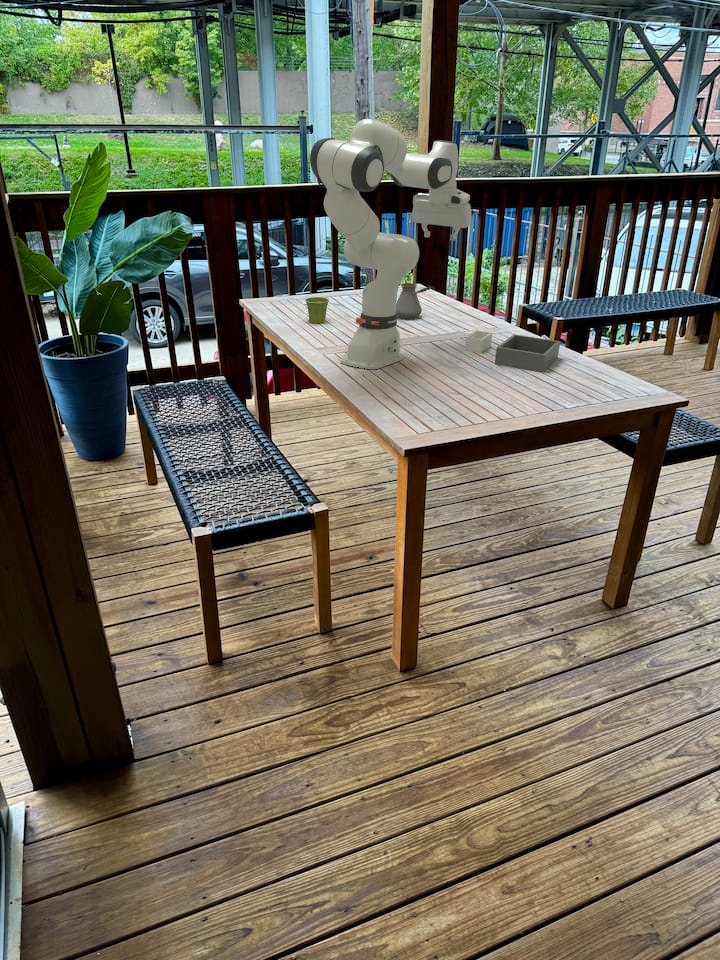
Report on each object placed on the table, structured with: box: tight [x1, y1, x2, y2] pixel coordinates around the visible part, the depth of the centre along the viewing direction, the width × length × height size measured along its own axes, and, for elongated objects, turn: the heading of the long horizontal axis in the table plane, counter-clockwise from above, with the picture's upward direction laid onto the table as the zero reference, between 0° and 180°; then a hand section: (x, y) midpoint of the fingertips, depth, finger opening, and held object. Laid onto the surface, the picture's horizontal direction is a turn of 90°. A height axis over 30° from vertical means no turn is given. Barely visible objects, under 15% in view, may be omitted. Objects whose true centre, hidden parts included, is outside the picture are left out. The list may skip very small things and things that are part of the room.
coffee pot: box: [396, 282, 434, 320], centre depth 259 cm, size 21×12×15 cm, turn 31°
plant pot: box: [304, 296, 330, 324], centre depth 255 cm, size 9×9×9 cm
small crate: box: [464, 330, 493, 354], centre depth 227 cm, size 10×6×5 cm, turn 150°
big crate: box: [494, 333, 561, 373], centre depth 215 cm, size 18×16×6 cm
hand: (439, 238), depth 222 cm, fingers open, 8 cm apart
